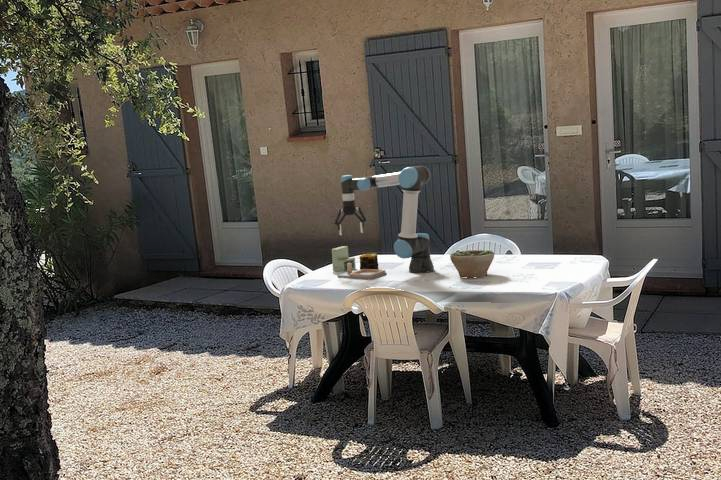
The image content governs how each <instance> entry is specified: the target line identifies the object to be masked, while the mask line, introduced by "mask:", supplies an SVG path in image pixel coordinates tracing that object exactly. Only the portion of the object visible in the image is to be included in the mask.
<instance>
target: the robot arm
mask: <svg viewBox="0 0 721 480" xmlns="http://www.w3.org/2000/svg"><path fill="white" fill-rule="evenodd" d="M430 179H431V172H430V170H429V168H428V167H426V166H424V165H414V166H408V167H405V168H403V169H402V170H400V171H398V172H392V173H386V174H384V173H383V174H378V175H371V176H365V177H353V175H352V174H347V175H341V177H340V184H341V185H340V186H341V199H342V200H343V201H342V208H338V209H337V210H338V211H337V215H336V217H335V219H334V222H333V224H334V225H336V227H337V228H336V229H337V231H339V233H338V234H339V236H343V235H342V232H343V231H342V224H341V223H342V222H343V220H345V219H344V218H345V217H346V216H355V217H356V219H358V221H360V222H359V227H360V228H359V230H360V231H359V232H360V233H361V234H364V229H363V228H364V227H365V222H366V221H367V218H366V217H365V215H364V213H363V212H362V209H361V207H360V206H357V207H356V203H355V202H356V201H355V191H362V192H363V191H368V190H371V189H377V188H384V187H392V186H401V191H402V192H403V199H402V213H401V214H402V216H401V226H400V227H401V229H400V233H398V234H397V240H396V241H395V242H394V244H393V252H394V253H395V254H396V256H397V257H398V258H401V259H403V260H404V259H410V258H411V259H410V263H409V266H408V271H409V273H413V274H414V273H415V274H424V273H430V272H434V271H435V266H434V263H433V261H432V259H431V247H430V246H431V244H430V242H431V241H430V236H429V234H428V233H421V232H419V233H418V232H417V233H416V231H417V230H416V229H417V219H418V218H417V217H418V216H417V215H418V205H419V194H420V192H422V186H424V185H426V184H427V183H428V182H429V181H430ZM357 211H358V213H359V215H360V216H359V215H358V214H357ZM341 214H342V215H341Z"/></svg>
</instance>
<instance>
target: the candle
mask: <svg viewBox="0 0 721 480" xmlns="http://www.w3.org/2000/svg"><path fill="white" fill-rule="evenodd" d="M359 263H360V264H359V270H362V269H376V270H379V262H378V253H362V254H361V255H359Z"/></svg>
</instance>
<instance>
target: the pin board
mask: <svg viewBox="0 0 721 480" xmlns="http://www.w3.org/2000/svg"><path fill="white" fill-rule="evenodd" d="M387 274H388V273H387V271H386V269H378V270H376V269H362V270H360V269H359V270H354V269H352V263H347V271H345V272H343V273H341V274H338V275H337V278H341V277H344V278H343V279H355V280H356V279H358V280H359V279H360V280H375V279H377V278H380V277H384V276H387Z"/></svg>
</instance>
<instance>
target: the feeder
mask: <svg viewBox="0 0 721 480" xmlns="http://www.w3.org/2000/svg"><path fill="white" fill-rule="evenodd" d="M331 259H332V261H331V262H332V271H333V272H341V271H342V272H343V273H346V272H348V271H347V263H352V270H354V269H356V266H357V265H356V257H355V256H354V257H352V256H351V257H350V256H349V247H348V245H345V246H343V245H342V246H338V247H335V248H331Z"/></svg>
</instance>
